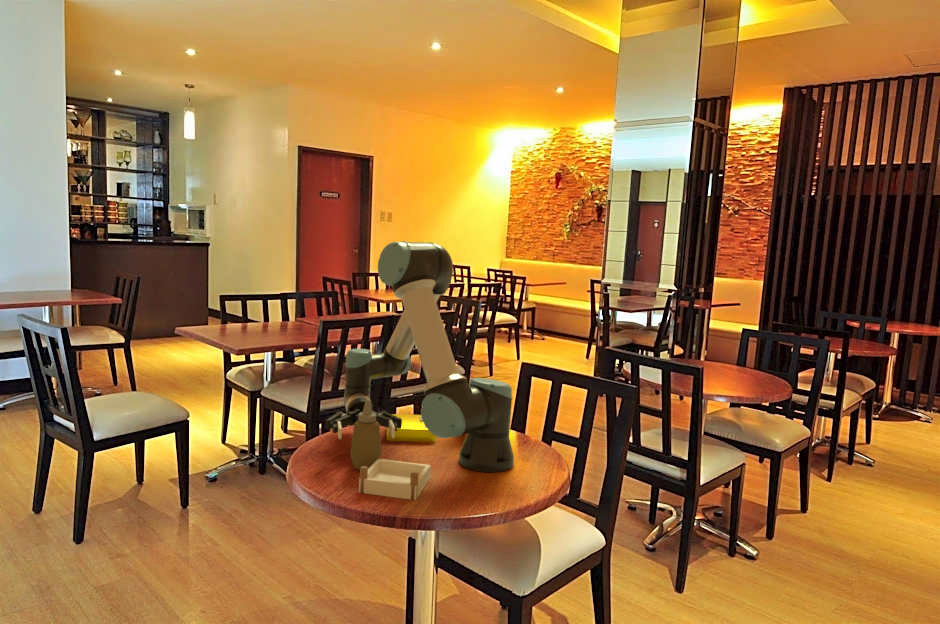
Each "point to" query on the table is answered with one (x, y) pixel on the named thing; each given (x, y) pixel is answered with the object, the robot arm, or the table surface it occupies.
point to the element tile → (412, 430)
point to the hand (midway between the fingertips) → (367, 433)
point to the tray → (394, 479)
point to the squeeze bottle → (366, 438)
